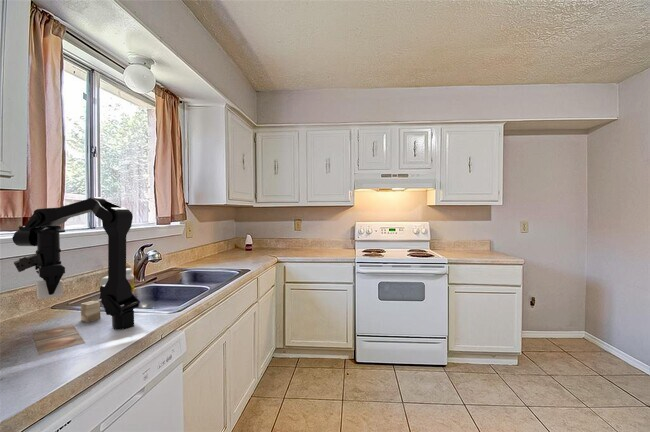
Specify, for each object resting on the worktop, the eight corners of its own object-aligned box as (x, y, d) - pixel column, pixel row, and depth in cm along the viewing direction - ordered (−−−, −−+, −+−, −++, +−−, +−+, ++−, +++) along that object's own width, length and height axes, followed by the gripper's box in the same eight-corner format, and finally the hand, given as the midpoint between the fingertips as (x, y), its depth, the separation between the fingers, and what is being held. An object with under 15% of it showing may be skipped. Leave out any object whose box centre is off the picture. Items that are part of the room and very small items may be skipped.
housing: (62, 295, 107) (62, 281, 107) (38, 299, 103) (38, 284, 103) (60, 292, 112) (59, 278, 111) (37, 296, 107) (36, 281, 107)
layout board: (85, 347, 92) (85, 342, 92) (38, 358, 85) (38, 354, 84) (72, 327, 107) (72, 323, 107) (32, 335, 100) (32, 332, 100)
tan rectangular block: (100, 321, 112) (100, 301, 112) (88, 325, 109) (87, 305, 109) (93, 320, 114) (93, 300, 114) (81, 323, 110) (80, 303, 110)
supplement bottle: (120, 301, 137) (119, 271, 137) (114, 298, 141) (113, 269, 141) (137, 297, 142) (136, 269, 142) (130, 295, 146) (130, 267, 146)
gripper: (14, 246, 108) (15, 292, 108) (16, 251, 95) (18, 303, 95) (57, 243, 116) (58, 286, 116) (64, 247, 103) (66, 296, 103)
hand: (50, 292), depth 107 cm, fingers closed on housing, 6 cm apart
